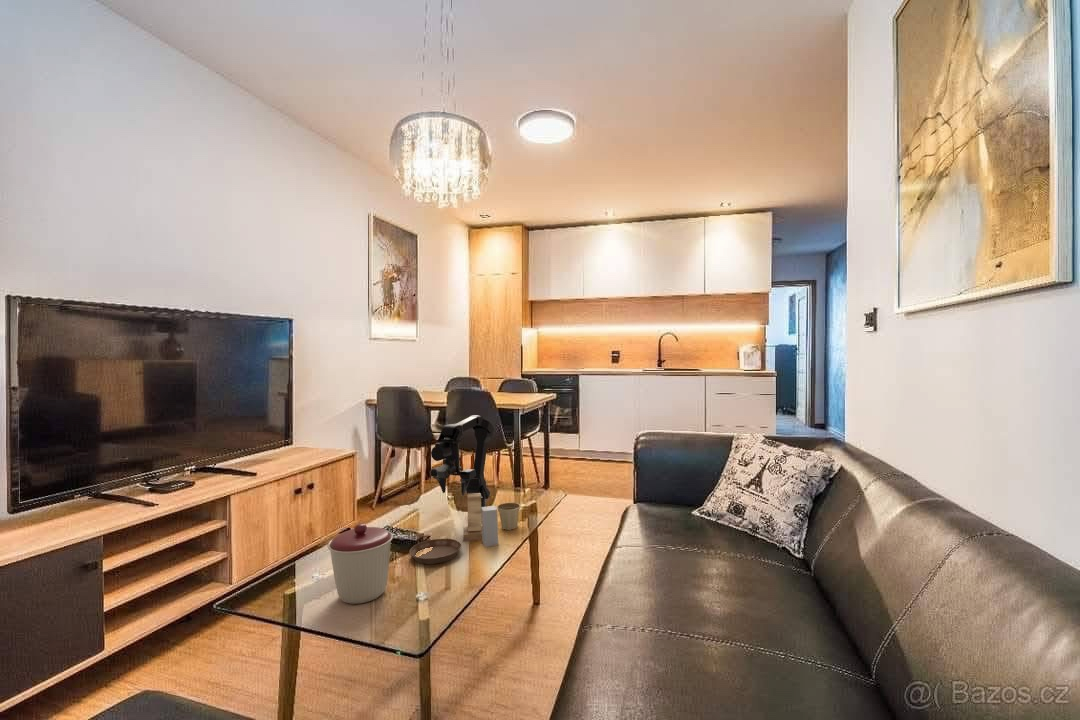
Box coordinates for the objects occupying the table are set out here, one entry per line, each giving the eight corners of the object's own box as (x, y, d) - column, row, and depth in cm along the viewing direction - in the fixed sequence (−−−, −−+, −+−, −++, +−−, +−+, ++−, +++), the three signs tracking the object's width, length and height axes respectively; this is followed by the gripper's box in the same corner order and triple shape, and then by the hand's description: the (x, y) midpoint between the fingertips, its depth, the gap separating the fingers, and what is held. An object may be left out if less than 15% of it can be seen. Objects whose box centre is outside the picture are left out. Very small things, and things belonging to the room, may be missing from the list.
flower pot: (510, 533, 190) (510, 511, 190) (492, 528, 196) (492, 507, 196) (526, 526, 198) (525, 504, 198) (508, 521, 204) (507, 501, 203)
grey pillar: (482, 541, 183) (481, 507, 183) (495, 540, 184) (494, 505, 184) (484, 546, 178) (483, 511, 178) (498, 544, 179) (497, 509, 179)
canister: (373, 575, 157) (370, 510, 157) (407, 591, 146) (404, 521, 146) (317, 598, 143) (315, 526, 143) (350, 618, 132) (347, 540, 132)
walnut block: (463, 534, 192) (463, 527, 192) (484, 533, 193) (484, 525, 193) (463, 542, 184) (463, 534, 184) (484, 540, 185) (484, 533, 185)
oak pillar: (467, 527, 191) (467, 493, 191) (480, 526, 191) (480, 493, 192) (467, 531, 186) (467, 496, 187) (481, 530, 187) (481, 495, 187)
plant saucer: (400, 557, 172) (400, 548, 172) (443, 542, 184) (443, 534, 184) (427, 572, 159) (427, 562, 159) (471, 555, 172) (471, 546, 172)
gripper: (421, 458, 197) (422, 497, 197) (461, 461, 190) (462, 501, 190) (437, 453, 207) (438, 489, 207) (476, 455, 200) (477, 493, 200)
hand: (453, 493), depth 201 cm, fingers open, 9 cm apart
